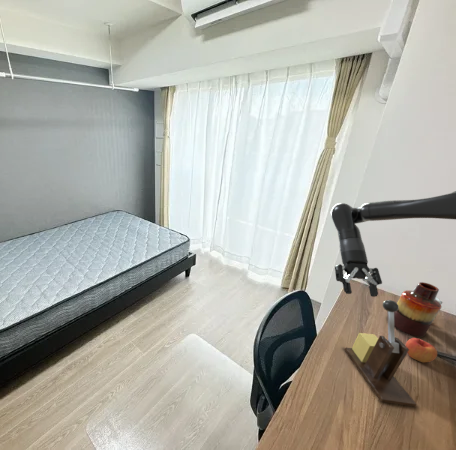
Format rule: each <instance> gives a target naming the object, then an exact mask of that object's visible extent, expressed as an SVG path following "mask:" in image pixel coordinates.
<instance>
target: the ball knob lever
mask: <svg viewBox="0 0 456 450" xmlns="http://www.w3.org/2000/svg"><path fill="white" fill-rule="evenodd" d="M382 307H383V309H384V310H385V311H387V340H388V341H389V342H390V343H391V345H392V346H393V347H394V349H393V351H392V353H399V343H396V342H395V337H396V335H395V334H396V332H395V327H394V312H396V311H397V310H398V309H399V306H398V304H397V302H396V301H394V300H391V299H387V300H384V301H383V302H382Z"/></svg>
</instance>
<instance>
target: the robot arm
mask: <svg viewBox="0 0 456 450" xmlns="http://www.w3.org/2000/svg"><path fill="white" fill-rule="evenodd" d="M330 215H331V219H332V222H333V224H334V227H335V229H336V231H337V236H338V242H339V251H340V257H341V262H342V264H340V263H339V264H337V265H335V266H334V273H335V280H336V282H340V283H341V284H342V287H343V292H344V293H345V294H347V295H351V294H352V293H353V292H352V286H351V283H350V281H351V280H352V279H359V280H362V281H363V282H365V283H366V284H367V285H368V290H369V294H370V297H371V298H372V297H378V295H379V290H378V287H377V286H379V285H382V284H383V280H382V278H381V274H380V271H379V268H378V267H373V268H371V267H369V266H368V263H369V260H368V257H367V252H366V248H365V245H364V242H363V239H362V234H361V231H360V228H359V227H358V226H357V225H356V224H361V223H366V222H377V221H379V222H380V221H392V220H407V219H408V220H409V219H439V220H440V219H442V220H456V190H455V191H452V192H450V193H446V194H441V195H437V196H432V197H426V198H425V197H424V198H418V199H400V200H399V199H397V200H382V201H372V202H366V203H365V202H364V203H363V204H362V205H361V206H360V207H353V206H351V205H350V204H348V203H344V202H339V203H336V204H335V205H334V206H333V207H332V208H331V211H330ZM344 272H345V274H344Z"/></svg>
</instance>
